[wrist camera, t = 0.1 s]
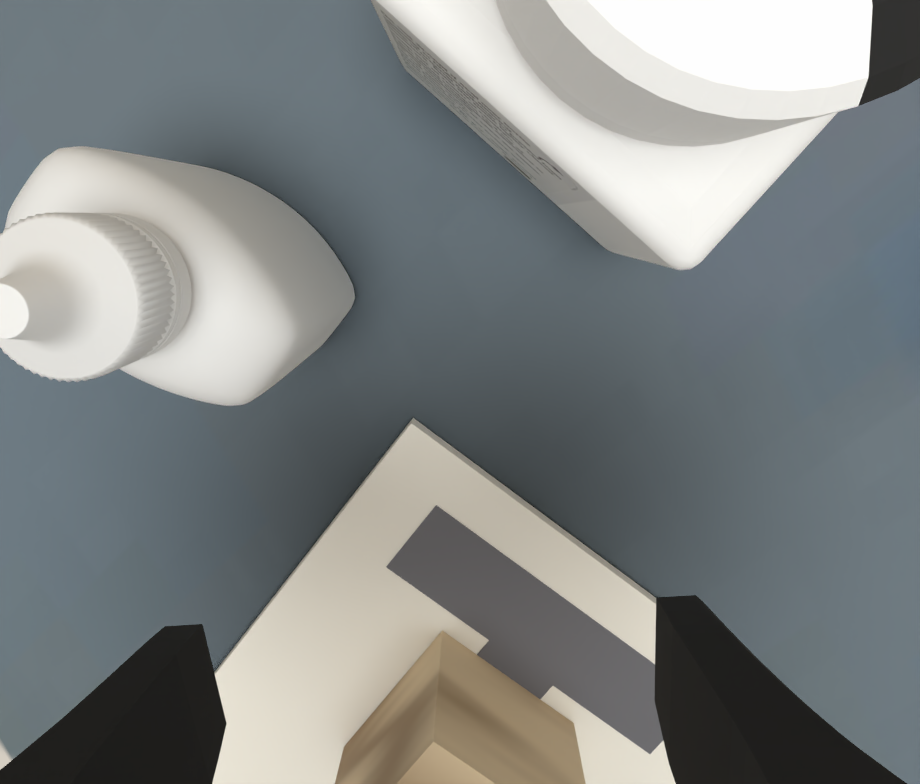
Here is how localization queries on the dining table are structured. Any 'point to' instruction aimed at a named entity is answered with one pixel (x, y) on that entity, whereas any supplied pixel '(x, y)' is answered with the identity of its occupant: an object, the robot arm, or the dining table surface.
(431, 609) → the letter card
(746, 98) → the container
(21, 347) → the eye dropper bottle
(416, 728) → the oak block
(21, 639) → the dining table surface
